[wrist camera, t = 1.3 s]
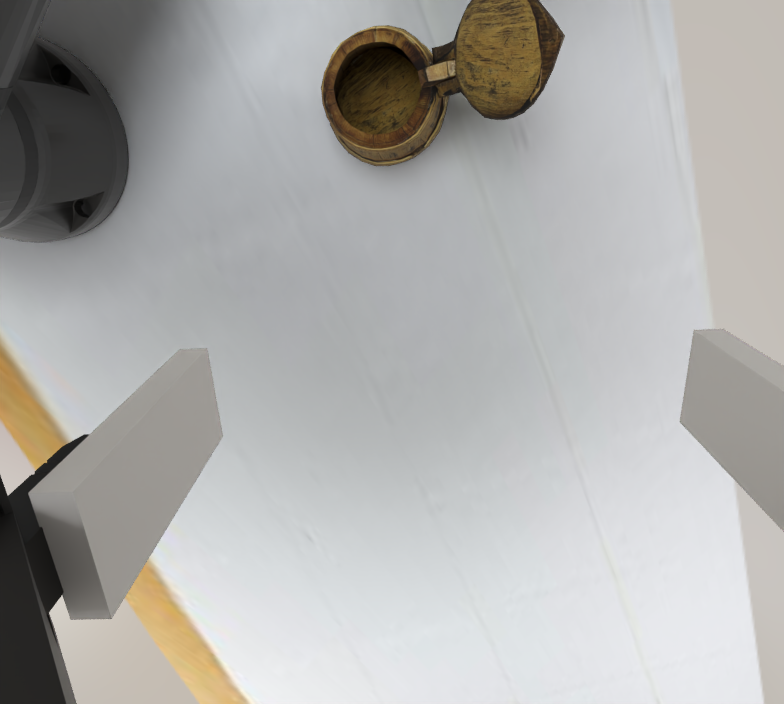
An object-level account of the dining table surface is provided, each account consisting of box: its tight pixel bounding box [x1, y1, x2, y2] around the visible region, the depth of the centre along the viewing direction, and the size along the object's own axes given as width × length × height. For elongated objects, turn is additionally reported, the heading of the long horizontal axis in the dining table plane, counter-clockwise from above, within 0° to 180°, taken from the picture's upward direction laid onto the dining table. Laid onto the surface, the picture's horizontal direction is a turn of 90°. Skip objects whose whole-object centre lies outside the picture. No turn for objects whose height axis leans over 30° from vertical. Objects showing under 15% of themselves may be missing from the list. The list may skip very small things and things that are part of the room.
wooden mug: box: [321, 0, 565, 166], centre depth 34 cm, size 9×14×18 cm, turn 101°
